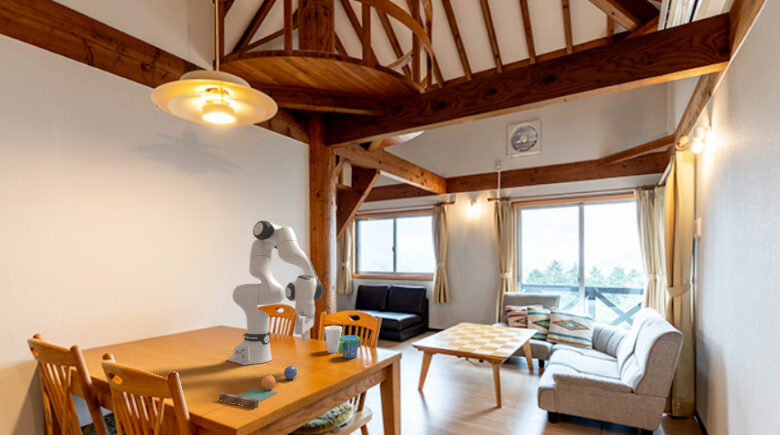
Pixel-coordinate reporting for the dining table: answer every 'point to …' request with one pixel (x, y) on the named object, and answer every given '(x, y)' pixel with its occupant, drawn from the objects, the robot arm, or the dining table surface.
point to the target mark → (257, 394)
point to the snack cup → (349, 346)
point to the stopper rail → (238, 400)
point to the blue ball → (290, 372)
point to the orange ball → (268, 382)
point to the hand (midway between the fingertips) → (304, 340)
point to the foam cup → (333, 338)
